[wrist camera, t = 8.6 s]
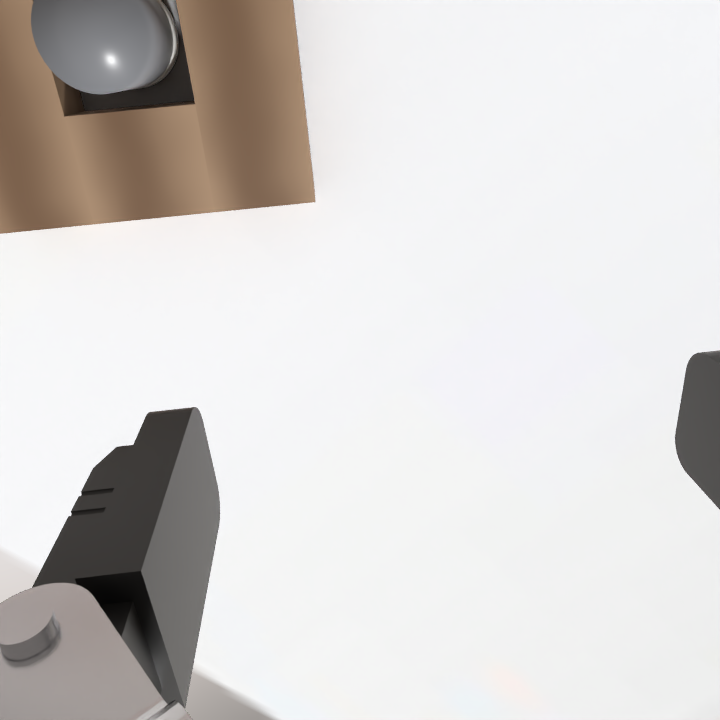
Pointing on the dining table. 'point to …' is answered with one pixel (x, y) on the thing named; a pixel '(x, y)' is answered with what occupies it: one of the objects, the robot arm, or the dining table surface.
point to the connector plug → (105, 42)
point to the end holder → (158, 127)
